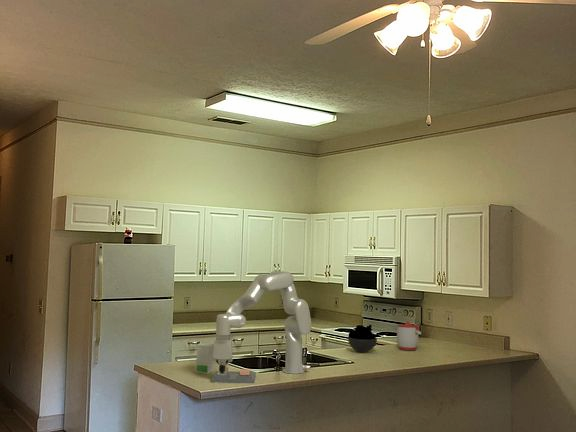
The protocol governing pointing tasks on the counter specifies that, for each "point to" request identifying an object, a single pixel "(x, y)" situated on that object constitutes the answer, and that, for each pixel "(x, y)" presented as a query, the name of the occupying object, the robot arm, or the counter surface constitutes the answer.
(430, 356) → the counter surface
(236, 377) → the switch panel
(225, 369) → the birch paddle
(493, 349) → the counter surface
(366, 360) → the counter surface
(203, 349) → the skincare box
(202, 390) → the counter surface
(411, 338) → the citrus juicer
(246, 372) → the terracotta button
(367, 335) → the bowl of black rocks
